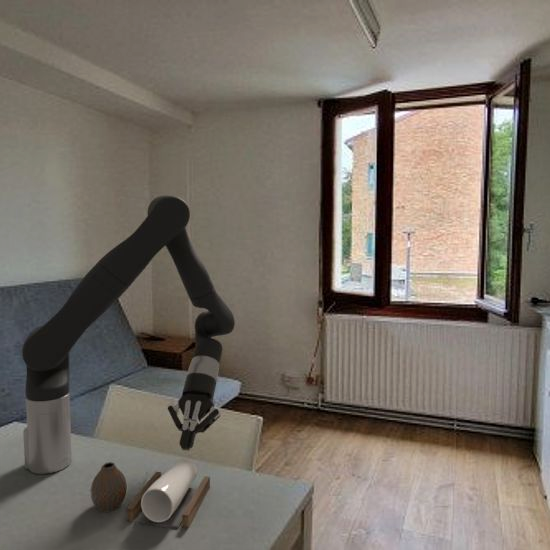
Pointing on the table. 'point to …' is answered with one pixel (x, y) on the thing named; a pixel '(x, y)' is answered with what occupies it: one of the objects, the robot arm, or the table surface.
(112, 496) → the vase
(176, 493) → the white cup
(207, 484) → the cradle
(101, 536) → the table surface
